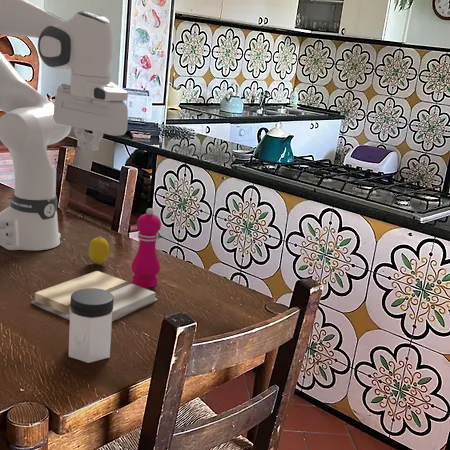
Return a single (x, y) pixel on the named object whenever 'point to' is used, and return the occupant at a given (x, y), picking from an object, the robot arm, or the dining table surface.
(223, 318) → the dining table surface
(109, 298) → the jar
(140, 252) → the pepper mill
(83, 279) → the birch plank
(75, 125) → the robot arm
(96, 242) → the lemon
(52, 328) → the dining table surface
